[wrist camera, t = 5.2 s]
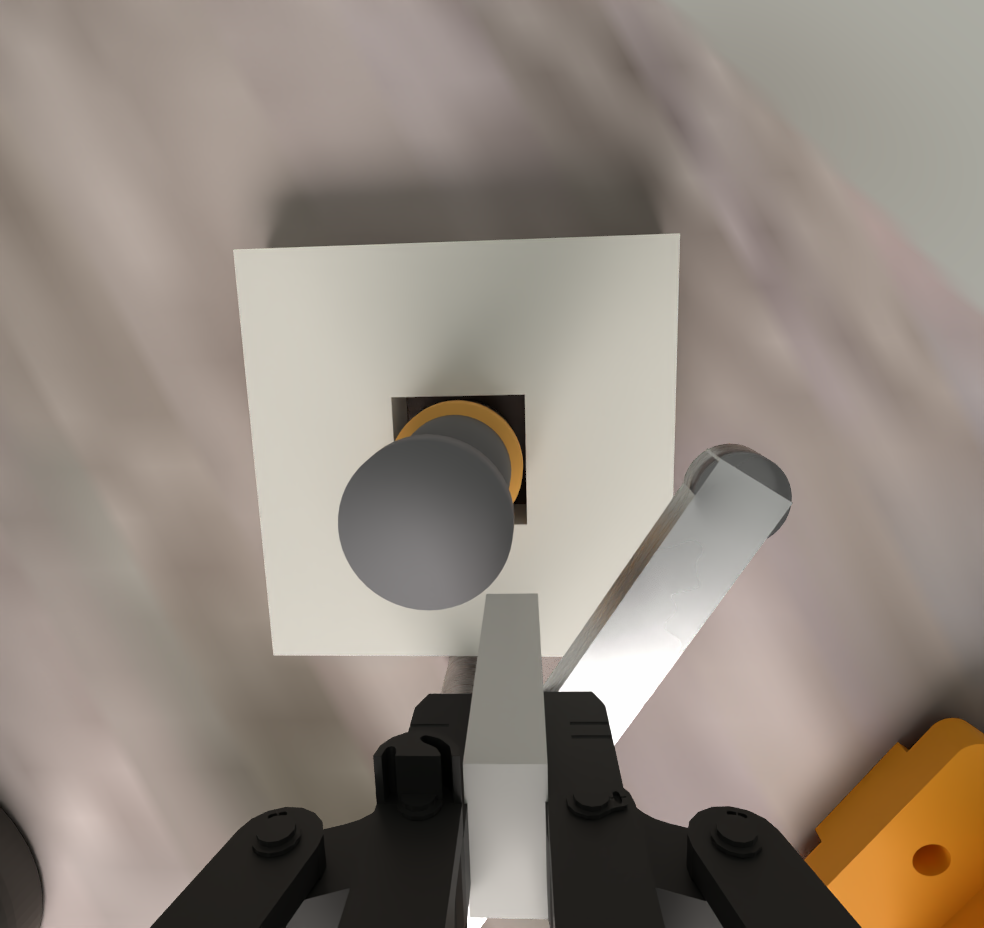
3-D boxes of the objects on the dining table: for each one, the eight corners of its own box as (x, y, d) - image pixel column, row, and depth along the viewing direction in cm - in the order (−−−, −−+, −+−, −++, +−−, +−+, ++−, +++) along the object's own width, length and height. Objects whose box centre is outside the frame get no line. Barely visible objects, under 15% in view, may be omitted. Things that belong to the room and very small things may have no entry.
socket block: (298, 623, 31) (273, 655, 29) (264, 256, 28) (232, 249, 25) (656, 624, 30) (668, 657, 27) (664, 242, 27) (680, 233, 24)
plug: (414, 502, 30) (340, 613, 19) (408, 391, 29) (327, 438, 18) (525, 501, 30) (518, 614, 18) (523, 389, 29) (515, 435, 17)
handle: (438, 674, 31) (362, 951, 18) (632, 375, 28) (722, 431, 14) (484, 701, 31) (443, 996, 18) (682, 406, 28) (819, 490, 14)
